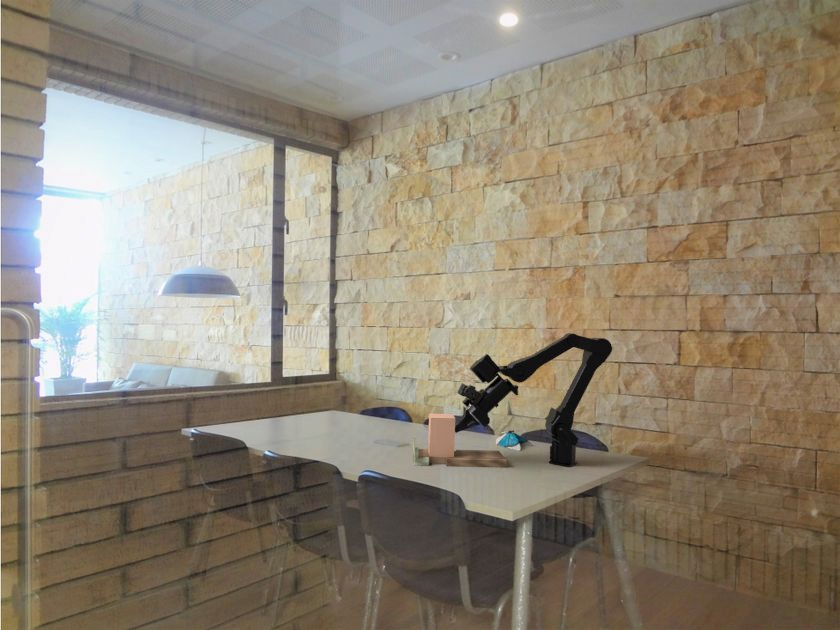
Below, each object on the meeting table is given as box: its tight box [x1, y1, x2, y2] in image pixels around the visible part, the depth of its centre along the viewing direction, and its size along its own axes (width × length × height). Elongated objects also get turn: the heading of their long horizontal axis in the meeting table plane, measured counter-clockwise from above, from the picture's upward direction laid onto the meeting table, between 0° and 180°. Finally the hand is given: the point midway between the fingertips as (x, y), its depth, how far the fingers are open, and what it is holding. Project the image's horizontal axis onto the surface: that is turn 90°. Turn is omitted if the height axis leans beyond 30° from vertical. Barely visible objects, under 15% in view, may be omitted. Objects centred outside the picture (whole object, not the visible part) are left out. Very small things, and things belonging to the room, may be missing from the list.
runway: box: [412, 438, 508, 468], centre depth 168 cm, size 26×12×5 cm, turn 93°
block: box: [427, 413, 456, 457], centre depth 168 cm, size 7×7×11 cm
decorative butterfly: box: [495, 430, 534, 451], centre depth 191 cm, size 10×6×10 cm
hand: (454, 431), depth 168 cm, fingers closed
